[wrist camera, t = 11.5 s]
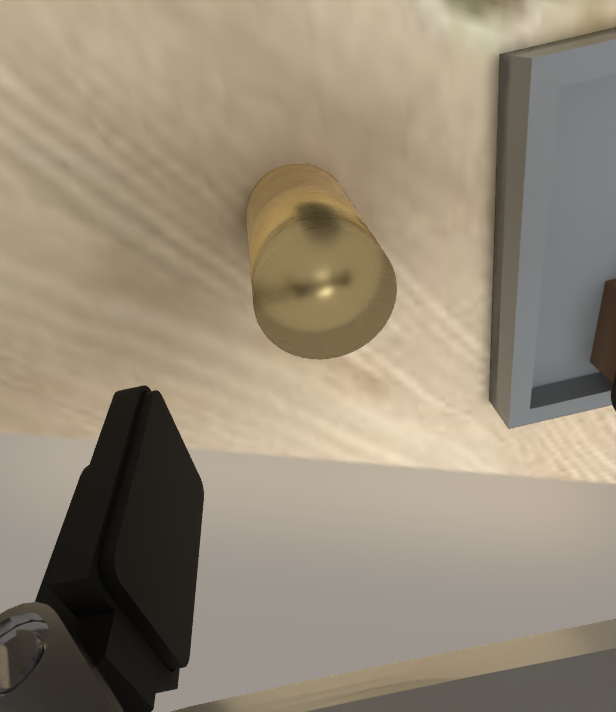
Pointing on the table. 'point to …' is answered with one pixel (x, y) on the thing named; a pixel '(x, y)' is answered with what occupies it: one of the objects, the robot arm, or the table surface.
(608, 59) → the tray
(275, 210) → the brass cylinder
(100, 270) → the table surface
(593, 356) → the walnut block
